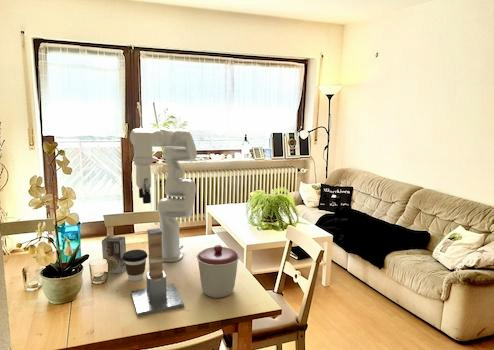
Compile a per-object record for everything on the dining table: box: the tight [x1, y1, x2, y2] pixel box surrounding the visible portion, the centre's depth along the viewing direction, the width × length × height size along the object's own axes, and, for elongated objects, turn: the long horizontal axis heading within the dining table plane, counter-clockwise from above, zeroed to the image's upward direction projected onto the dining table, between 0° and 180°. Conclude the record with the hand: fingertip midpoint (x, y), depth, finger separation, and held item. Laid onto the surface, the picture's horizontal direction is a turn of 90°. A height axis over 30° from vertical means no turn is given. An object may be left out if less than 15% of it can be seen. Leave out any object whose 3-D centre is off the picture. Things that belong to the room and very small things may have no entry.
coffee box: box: [101, 235, 127, 274], centre depth 182 cm, size 9×6×16 cm
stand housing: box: [130, 270, 185, 318], centre depth 155 cm, size 18×18×12 cm
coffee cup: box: [122, 249, 148, 282], centre depth 174 cm, size 11×11×12 cm
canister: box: [195, 244, 240, 299], centre depth 162 cm, size 18×18×21 cm
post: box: [146, 227, 164, 278], centre depth 153 cm, size 5×5×20 cm
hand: (144, 200), depth 163 cm, fingers open, 9 cm apart
